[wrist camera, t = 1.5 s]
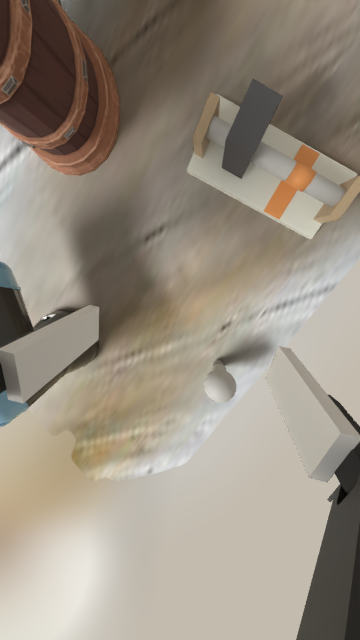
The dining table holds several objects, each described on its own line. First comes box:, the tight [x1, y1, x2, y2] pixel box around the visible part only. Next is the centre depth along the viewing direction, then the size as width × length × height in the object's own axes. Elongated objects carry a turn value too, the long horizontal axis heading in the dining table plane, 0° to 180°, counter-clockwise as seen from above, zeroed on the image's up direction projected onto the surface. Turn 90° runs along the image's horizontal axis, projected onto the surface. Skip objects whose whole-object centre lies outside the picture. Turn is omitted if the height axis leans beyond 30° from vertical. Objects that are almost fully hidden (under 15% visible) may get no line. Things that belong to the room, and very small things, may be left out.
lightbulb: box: [204, 360, 236, 403], centre depth 40 cm, size 6×6×11 cm
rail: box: [186, 92, 360, 239], centre depth 28 cm, size 24×10×6 cm, turn 64°
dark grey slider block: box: [222, 79, 283, 179], centre depth 25 cm, size 4×5×9 cm, turn 154°
